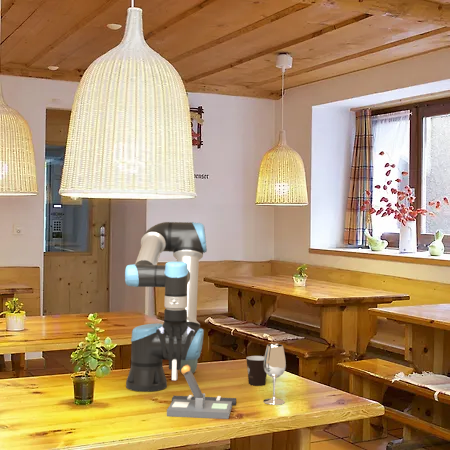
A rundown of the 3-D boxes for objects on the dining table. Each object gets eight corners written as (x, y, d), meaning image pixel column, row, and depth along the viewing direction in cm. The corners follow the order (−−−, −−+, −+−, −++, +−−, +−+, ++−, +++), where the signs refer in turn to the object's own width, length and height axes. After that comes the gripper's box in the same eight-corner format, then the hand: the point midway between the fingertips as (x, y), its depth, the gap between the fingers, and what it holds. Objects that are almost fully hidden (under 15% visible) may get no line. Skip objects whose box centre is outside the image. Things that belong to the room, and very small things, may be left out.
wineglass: (289, 402, 264) (290, 345, 263) (275, 406, 258) (276, 348, 257) (272, 398, 269) (273, 342, 268) (258, 402, 263) (259, 345, 262)
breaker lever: (196, 404, 248) (179, 369, 248) (198, 401, 252) (181, 366, 252) (204, 401, 247) (186, 365, 248) (205, 398, 251) (188, 363, 251)
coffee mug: (266, 387, 284) (267, 361, 284) (244, 385, 286) (244, 359, 286) (270, 380, 296) (271, 355, 295) (249, 379, 297) (249, 353, 297)
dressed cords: (171, 403, 259) (171, 397, 259) (173, 399, 264) (173, 394, 264) (235, 406, 257) (235, 400, 257) (236, 402, 262) (236, 396, 262)
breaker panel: (166, 416, 243) (167, 400, 243) (173, 404, 257) (173, 389, 257) (228, 418, 242) (228, 402, 242) (231, 407, 256) (232, 392, 255)
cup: (195, 376, 301) (195, 351, 301) (176, 375, 302) (176, 350, 302) (198, 371, 309) (199, 347, 308) (180, 370, 310) (180, 346, 310)
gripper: (154, 309, 246) (153, 381, 247) (193, 310, 245) (192, 382, 245) (158, 306, 254) (157, 376, 254) (196, 307, 252) (195, 377, 253)
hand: (174, 379), depth 250 cm, fingers closed
